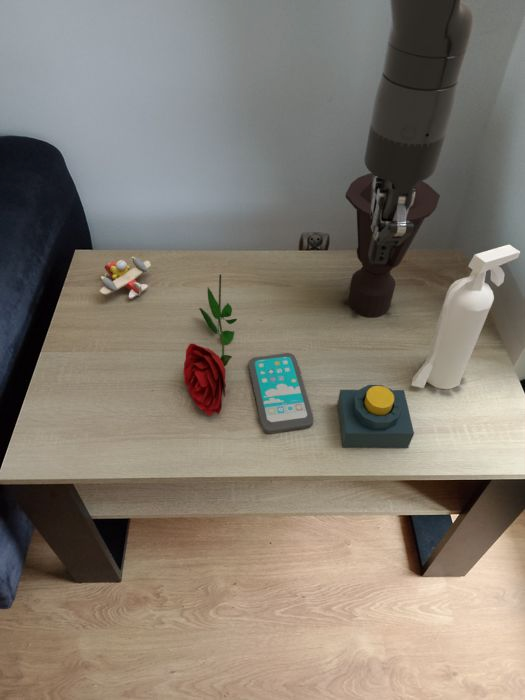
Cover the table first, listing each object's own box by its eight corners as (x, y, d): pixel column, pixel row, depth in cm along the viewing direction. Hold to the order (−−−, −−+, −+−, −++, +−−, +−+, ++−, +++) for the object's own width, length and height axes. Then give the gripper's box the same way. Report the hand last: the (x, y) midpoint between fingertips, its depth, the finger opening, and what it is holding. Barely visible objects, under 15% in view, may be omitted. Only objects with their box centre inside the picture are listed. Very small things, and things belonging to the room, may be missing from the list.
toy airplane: (108, 274, 103) (100, 248, 98) (153, 273, 104) (148, 247, 99) (101, 305, 97) (93, 279, 92) (149, 303, 98) (143, 277, 93)
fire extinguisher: (394, 374, 87) (432, 256, 68) (450, 351, 90) (501, 233, 72) (419, 403, 83) (467, 286, 64) (477, 378, 86) (538, 260, 68)
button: (389, 393, 77) (391, 385, 75) (393, 416, 74) (396, 407, 73) (362, 393, 77) (364, 385, 75) (366, 415, 74) (368, 407, 73)
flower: (202, 248, 91) (194, 390, 73) (249, 265, 94) (253, 405, 76) (183, 280, 97) (171, 419, 79) (227, 295, 101) (227, 431, 83)
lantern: (418, 326, 94) (468, 177, 72) (340, 334, 93) (367, 184, 70) (393, 275, 104) (431, 129, 82) (322, 281, 103) (341, 135, 80)
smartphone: (262, 431, 77) (246, 357, 87) (262, 434, 78) (246, 361, 88) (316, 423, 78) (295, 351, 88) (316, 426, 79) (294, 355, 89)
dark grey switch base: (398, 404, 82) (407, 381, 78) (408, 448, 77) (417, 426, 73) (337, 404, 82) (341, 381, 78) (342, 447, 77) (347, 425, 72)
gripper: (463, 156, 47) (417, 296, 60) (431, 96, 55) (397, 229, 68) (382, 155, 47) (353, 296, 60) (362, 95, 55) (341, 228, 68)
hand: (377, 260), depth 64 cm, fingers closed
